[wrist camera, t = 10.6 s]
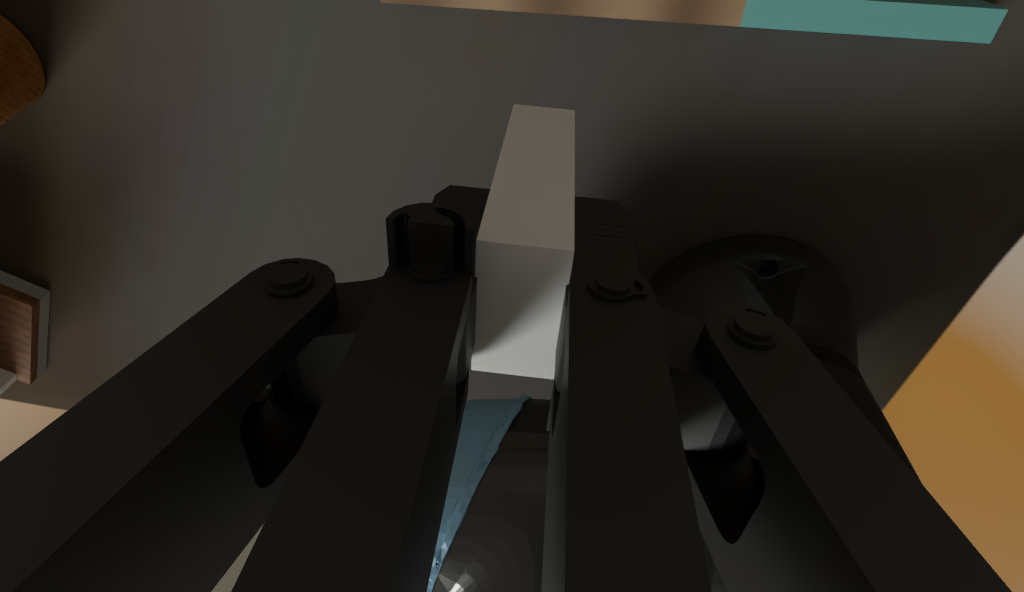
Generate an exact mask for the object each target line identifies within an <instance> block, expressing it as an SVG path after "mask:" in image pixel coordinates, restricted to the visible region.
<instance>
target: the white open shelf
mask: <svg viewBox="0 0 1024 592" xmlns="http://www.w3.org/2000/svg"><path fill="white" fill-rule="evenodd" d="M49 307H50V291H49V290H47V289H44V288H42V287H39V286H37V285H35V284H32V283H30V282H27V281H25V280H23V279H20V278H18V277H15V276H13V275H11V274H8V273H6V272H3V271H1V270H0V395H1V394H2V393H3V392H4V391H5V390H6V389H7V388H8V387H9V386H10V385H11V384H12V383H13V382H15V381H16V380H19V381H21V382H24V383H27V384H29V385H30V384H31V383H32V382H33V381H34V380H35V379H36V378H37V377H38V376H39V375H40V374H42V373H43V372H44V371H45V370H46V362H47V344H48V325H49Z"/></svg>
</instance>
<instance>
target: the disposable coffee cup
mask: <svg viewBox="0 0 1024 592" xmlns="http://www.w3.org/2000/svg"><path fill="white" fill-rule="evenodd" d="M44 88H45V76H44V70H43V67H42V64H41V61H40V59H39V57H38V55H37V53H36V51H35V50H34V48H33V47H32V45H31V44H30V42H29V41H28V40H27V39H26V37H25V36H24V35H23V34H22V33H21V31H20V30H18V29H17V28H16V27H15V26H14V25H13V24H12V23H11V22H10V21H9V20H7V19H6V18H5V17H3V16H2V15H1V14H0V126H1V125H3V124H4V123H5V122H7V121H8V120H10V119H11V118H12V117H14V115H17V114H18V113H19V112H21V111H22V110H24V109H25V108H26V107H27V106H29V105H31V104H32V103H34V102H36V101H37V100H38V99H39V98H40V97H41V95H42V93H43V90H44Z"/></svg>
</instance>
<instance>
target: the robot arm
mask: <svg viewBox="0 0 1024 592" xmlns="http://www.w3.org/2000/svg"><path fill="white" fill-rule="evenodd" d="M386 229H387V243H388V258H389V266H388V268H387V270H386V272H385V274H384V276H382V277H379V278H376V279H371V280H365V281H357V282H346V283H336V282H335V274H334V273H333V272H332V270H331V269H330V268H329V267H328V266H327V265H325V264H322V263H320V262H318V261H316V260H309V259H302V258H292V259H282V260H279V261H275V262H272V263H268V264H265V265H263V266H261V267H259V268H258V269H256V270H254V271H252V272H251V273H249V274H248V275H247V276H245V277H244V278H243V279H241V280H240V281H239V282H237V283H236V284H235V285H233V286H232V287H231V288H229V289H228V290H227V291H225V292H224V293H223V294H222V295H220V296H219V297H218V298H216V299H215V300H214V301H212V302H211V303H210V304H208V305H207V306H206V307H204V308H203V309H202V310H200V311H199V312H198V313H196V314H195V315H194V316H192V317H191V318H190V319H188V320H187V321H186V322H184V323H183V324H182V325H180V326H179V327H178V328H177V329H175V330H174V331H173V332H171V333H170V334H169V335H167V336H166V337H165V338H163V339H162V340H161V341H159V342H158V343H157V344H155V345H154V346H153V347H151V348H150V349H149V350H147V351H146V352H145V353H143V354H142V355H141V356H139V357H138V358H137V359H135V360H134V361H133V362H132V363H130V364H129V365H128V366H126V367H125V368H124V369H122V370H121V371H120V372H118V373H117V374H116V375H114V376H113V377H112V378H110V379H109V380H108V381H106V382H105V383H104V384H102V385H101V386H100V387H98V388H97V389H96V390H94V391H93V392H92V393H90V394H89V395H88V396H86V397H85V398H84V399H83V400H81V401H80V402H79V403H77V404H76V405H75V406H73V407H72V408H71V409H69V410H68V411H67V412H65V413H64V414H63V415H62V416H60V417H59V418H57V419H56V420H55V421H53V422H52V423H51V424H49V425H48V426H47V427H45V428H44V429H43V430H41V431H40V432H39V433H38V434H36V435H35V436H34V437H33V438H31V439H30V440H28V441H27V442H26V443H25V444H23V445H22V446H20V447H19V448H18V449H17V450H15V451H14V452H13V453H11V454H10V455H9V456H7V457H6V458H4V459H3V460H2V461H0V592H211V591H212V590H213V588H214V587H215V586H216V585H217V583H218V582H219V581H220V579H221V578H222V577H223V576H224V574H225V573H226V572H227V570H228V569H229V568H230V566H231V565H232V564H233V563H234V561H235V560H236V559H237V557H238V556H239V555H240V553H241V552H242V551H243V550H244V548H245V547H246V545H247V544H248V543H249V542H250V541H251V539H252V538H253V536H254V535H255V534H256V533H257V531H258V530H259V529H260V527H261V526H262V525H263V524H264V525H263V527H262V529H261V531H260V534H259V535H258V537H257V540H256V542H255V544H254V546H253V548H252V550H251V552H250V554H249V556H248V558H247V560H246V563H245V564H244V567H243V569H242V571H241V573H240V575H239V577H238V579H237V581H236V583H235V585H234V587H233V589H232V591H231V592H1012V591H1011V590H1010V589H1009V588H1008V587H1007V586H1006V584H1005V583H1004V582H1003V581H1002V579H1001V578H1000V577H999V576H998V575H997V573H996V572H995V571H994V570H993V569H992V568H991V566H990V565H989V564H988V563H987V561H985V559H984V558H983V557H982V555H981V554H980V553H979V552H978V551H977V550H976V548H975V547H974V546H973V545H972V543H971V542H970V541H969V540H968V539H967V538H966V536H965V535H964V534H963V533H962V531H961V530H960V529H959V528H958V527H957V525H956V524H955V523H954V522H953V521H952V520H951V518H950V517H949V516H948V515H947V514H946V513H945V511H944V510H943V509H942V508H941V506H940V505H939V504H938V503H937V502H936V500H935V499H934V498H933V497H932V496H931V494H930V493H929V492H928V491H927V490H926V488H925V487H924V486H923V484H922V483H921V481H920V479H919V477H918V475H917V474H916V472H915V470H914V468H913V466H912V465H911V463H910V461H909V459H908V457H907V456H906V454H905V452H904V450H903V449H902V447H901V445H900V443H899V441H898V440H897V438H896V436H895V434H894V432H893V431H892V429H891V427H890V425H889V423H888V422H887V420H886V418H885V416H884V414H883V413H882V411H881V409H880V407H879V406H878V404H877V402H876V400H875V398H874V397H873V395H872V393H871V391H870V389H869V388H868V386H867V384H866V383H865V381H864V379H863V377H862V375H861V373H860V371H859V369H858V353H857V336H856V318H855V310H854V305H853V302H852V299H851V296H850V294H849V292H848V290H847V288H846V286H845V285H844V283H843V282H842V280H841V278H840V277H839V275H838V273H837V272H836V270H835V269H834V268H833V266H832V265H831V264H830V263H829V262H828V261H827V260H826V259H825V258H824V257H823V256H821V255H820V254H819V253H817V252H816V251H814V250H813V249H811V248H809V247H807V246H805V245H802V244H800V243H797V242H794V241H791V240H787V239H783V238H777V237H770V236H743V237H734V238H729V239H724V240H720V241H716V242H712V243H709V244H706V245H704V246H701V247H698V248H696V249H694V250H692V251H690V252H688V253H686V254H684V255H682V256H681V257H679V258H677V259H676V260H674V261H673V262H671V263H670V264H669V265H667V266H666V267H665V268H664V269H663V270H661V271H660V272H659V273H658V274H657V275H656V276H655V277H654V278H653V280H652V281H651V282H650V283H648V282H647V281H646V280H644V279H643V278H642V277H641V276H640V273H639V267H638V261H637V255H636V249H635V242H634V236H633V230H632V224H631V218H630V214H629V213H628V211H627V210H626V209H625V208H624V207H623V206H622V205H621V204H620V203H619V202H618V201H613V200H603V199H594V198H585V197H575V110H566V109H556V108H546V107H536V106H527V105H517V104H514V106H513V109H512V113H511V117H510V120H509V124H508V127H507V131H506V135H505V138H504V142H503V146H502V149H501V153H500V156H499V160H498V164H497V167H496V171H495V174H494V178H493V182H492V185H491V189H482V188H473V187H464V186H454V185H449V186H448V187H446V188H445V189H444V190H442V191H441V192H439V193H438V194H436V195H435V197H434V199H433V201H432V203H418V204H412V205H407V206H404V207H402V208H399V209H397V210H395V211H393V212H392V213H391V214H390V215H389V216H388V217H387V218H386ZM471 358H472V362H471ZM470 363H471V370H476V371H485V372H493V373H502V374H511V375H519V376H528V377H536V378H545V379H554V385H553V391H552V397H551V400H543V399H532V398H531V397H530V396H521V397H519V398H518V399H481V400H469V401H466V399H467V394H468V378H469V368H470ZM554 374H555V378H554ZM264 522H265V523H264Z"/></svg>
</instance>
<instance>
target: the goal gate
mask: <svg viewBox="0 0 1024 592" xmlns="http://www.w3.org/2000/svg"><path fill="white" fill-rule="evenodd" d="M1007 11H1008V9H1006V8H1003V7H1000V6H997V5H994V4H992V3H989V2H986V1H983V0H747V1H746V5H745V9H744V12H743V16H742V20H741V23H740V27H752V28H767V29H781V30H796V31H811V32H826V33H841V34H856V35H870V36H885V37H900V38H915V39H930V40H945V41H959V42H974V43H989V44H990V43H991V41H992V39H993V37H994V35H995V34H996V32H997V30H998V28H999V26H1000V24H1001V22H1002V21H1003V19H1004V17H1005V15H1006V13H1007Z"/></svg>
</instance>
